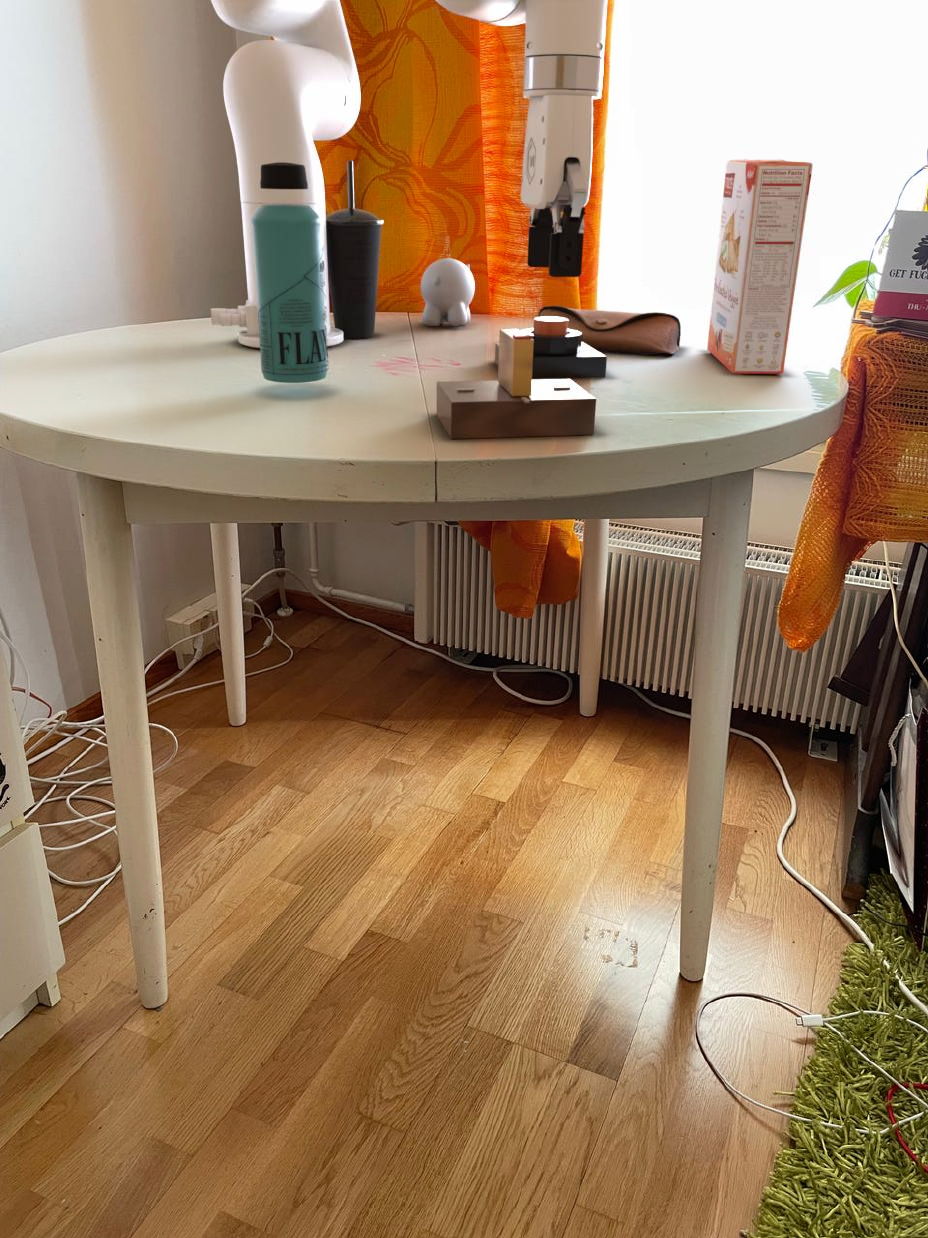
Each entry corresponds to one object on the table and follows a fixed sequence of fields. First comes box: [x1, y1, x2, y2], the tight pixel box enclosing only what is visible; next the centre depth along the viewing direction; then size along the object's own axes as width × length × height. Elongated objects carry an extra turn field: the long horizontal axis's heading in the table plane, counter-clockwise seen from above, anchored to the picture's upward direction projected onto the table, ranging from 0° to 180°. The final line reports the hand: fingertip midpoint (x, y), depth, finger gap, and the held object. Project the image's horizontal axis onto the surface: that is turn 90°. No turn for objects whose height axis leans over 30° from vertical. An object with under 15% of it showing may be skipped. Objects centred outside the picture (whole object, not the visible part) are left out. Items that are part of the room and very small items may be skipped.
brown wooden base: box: [436, 378, 597, 440], centre depth 84 cm, size 12×10×3 cm
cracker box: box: [706, 158, 814, 375], centre depth 107 cm, size 14×6×21 cm, turn 178°
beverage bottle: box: [251, 162, 330, 384], centre depth 91 cm, size 6×7×20 cm
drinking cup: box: [326, 160, 385, 340], centre depth 120 cm, size 8×8×20 cm
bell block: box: [494, 327, 608, 380], centre depth 105 cm, size 10×9×4 cm
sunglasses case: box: [537, 305, 682, 355], centre depth 119 cm, size 18×7×7 cm
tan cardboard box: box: [497, 328, 534, 396], centre depth 82 cm, size 6×2×5 cm, turn 11°
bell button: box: [533, 316, 568, 336], centre depth 104 cm, size 4×4×2 cm
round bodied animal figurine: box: [420, 257, 476, 327], centre depth 134 cm, size 7×12×8 cm, turn 165°
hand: (553, 270), depth 102 cm, fingers open, 8 cm apart
